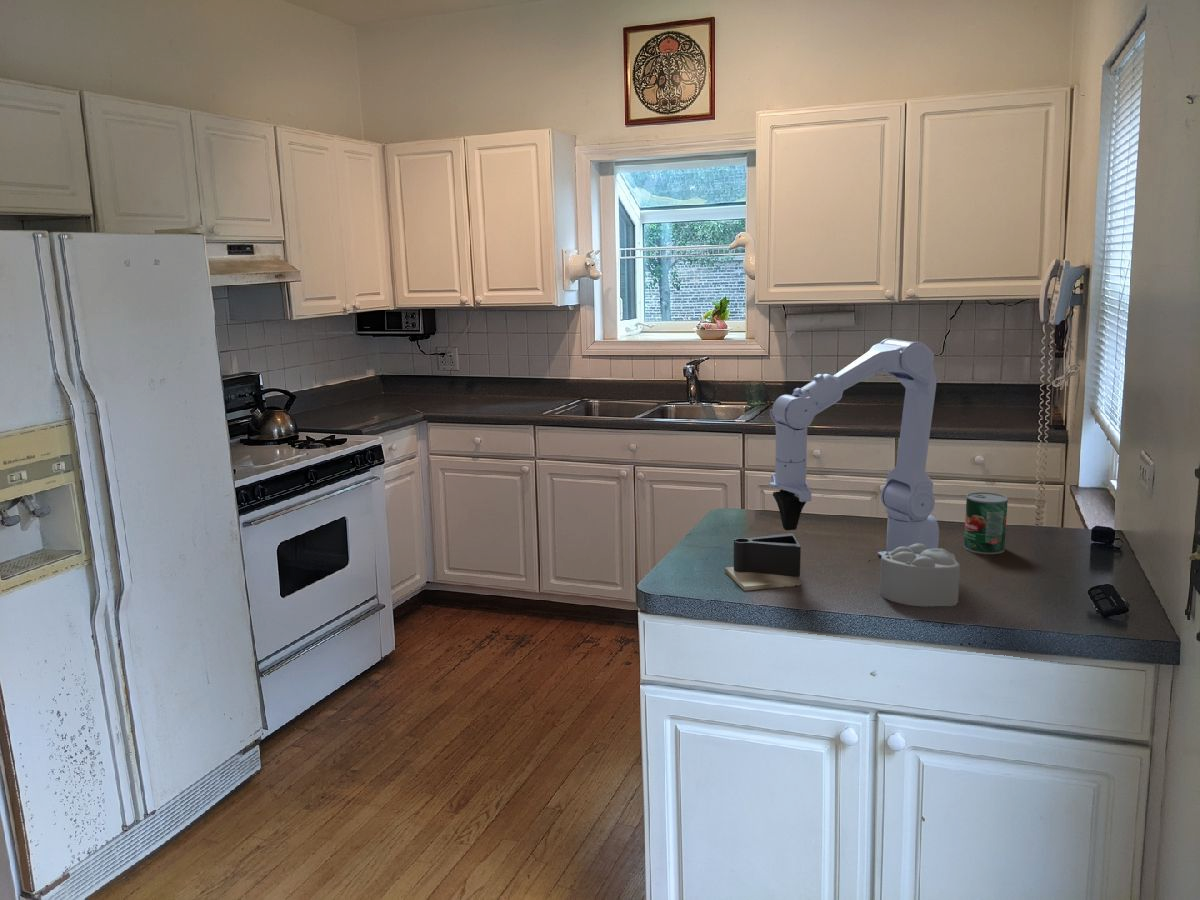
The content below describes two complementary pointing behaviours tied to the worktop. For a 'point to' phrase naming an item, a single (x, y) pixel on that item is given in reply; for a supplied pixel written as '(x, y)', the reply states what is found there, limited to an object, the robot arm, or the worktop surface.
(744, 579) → the birch board
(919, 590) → the lumpy-topped squat cylinder
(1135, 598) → the worktop surface
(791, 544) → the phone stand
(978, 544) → the canned tomato
